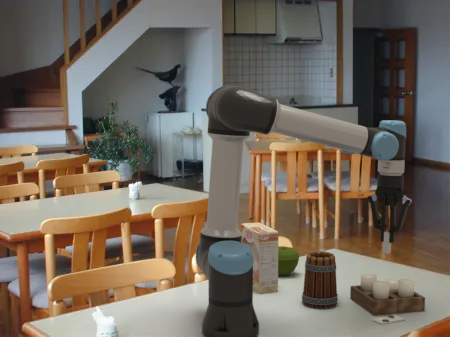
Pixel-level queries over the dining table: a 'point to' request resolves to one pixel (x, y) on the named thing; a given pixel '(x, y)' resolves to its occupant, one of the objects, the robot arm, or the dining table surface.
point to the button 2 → (380, 290)
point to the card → (388, 319)
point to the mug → (320, 280)
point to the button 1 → (367, 282)
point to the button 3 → (392, 284)
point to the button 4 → (405, 288)
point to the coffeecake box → (262, 255)
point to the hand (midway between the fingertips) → (386, 253)
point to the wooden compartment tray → (387, 302)
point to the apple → (287, 260)
